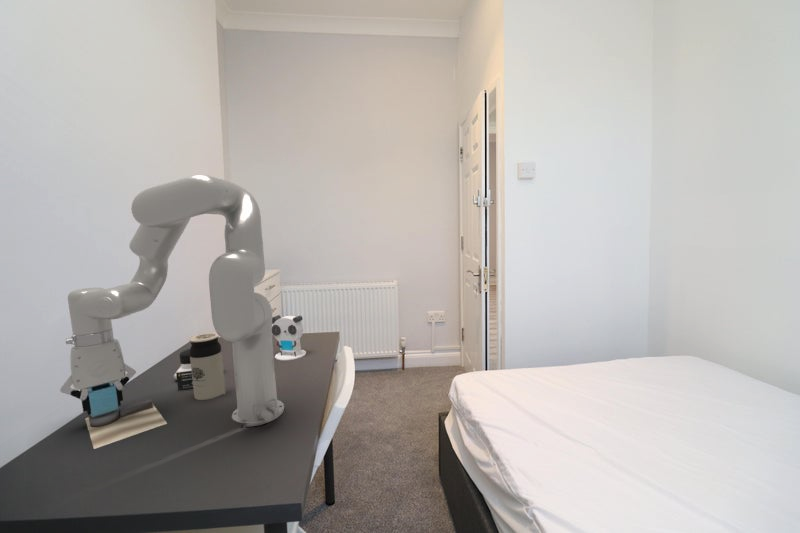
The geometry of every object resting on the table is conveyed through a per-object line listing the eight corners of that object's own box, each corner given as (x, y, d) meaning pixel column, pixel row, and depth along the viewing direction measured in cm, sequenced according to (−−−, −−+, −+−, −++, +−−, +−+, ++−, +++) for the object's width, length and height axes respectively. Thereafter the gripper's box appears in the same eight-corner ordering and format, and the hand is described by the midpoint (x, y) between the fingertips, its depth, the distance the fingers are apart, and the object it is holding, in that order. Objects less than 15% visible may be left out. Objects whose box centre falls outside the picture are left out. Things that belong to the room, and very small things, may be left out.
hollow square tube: (118, 409, 94) (115, 386, 93) (91, 417, 90) (88, 393, 89) (115, 402, 97) (112, 380, 97) (89, 410, 94) (86, 387, 93)
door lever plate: (167, 427, 91) (164, 397, 90) (94, 454, 82) (89, 420, 81) (149, 403, 106) (146, 376, 105) (85, 422, 96) (81, 394, 95)
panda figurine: (267, 359, 137) (263, 319, 136) (285, 349, 148) (282, 312, 147) (295, 361, 134) (292, 320, 132) (311, 350, 145) (308, 313, 143)
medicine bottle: (178, 394, 110) (173, 355, 109) (185, 385, 117) (181, 348, 116) (204, 391, 112) (200, 352, 111) (210, 381, 119) (206, 345, 118)
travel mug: (215, 389, 113) (209, 331, 111) (231, 394, 109) (225, 334, 107) (189, 400, 106) (182, 338, 104) (205, 406, 102) (198, 342, 100)
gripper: (47, 350, 83) (58, 427, 85) (138, 332, 95) (147, 401, 97) (46, 344, 88) (57, 417, 90) (133, 328, 100) (141, 392, 102)
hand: (103, 407), depth 93 cm, fingers closed on hollow square tube, 5 cm apart
